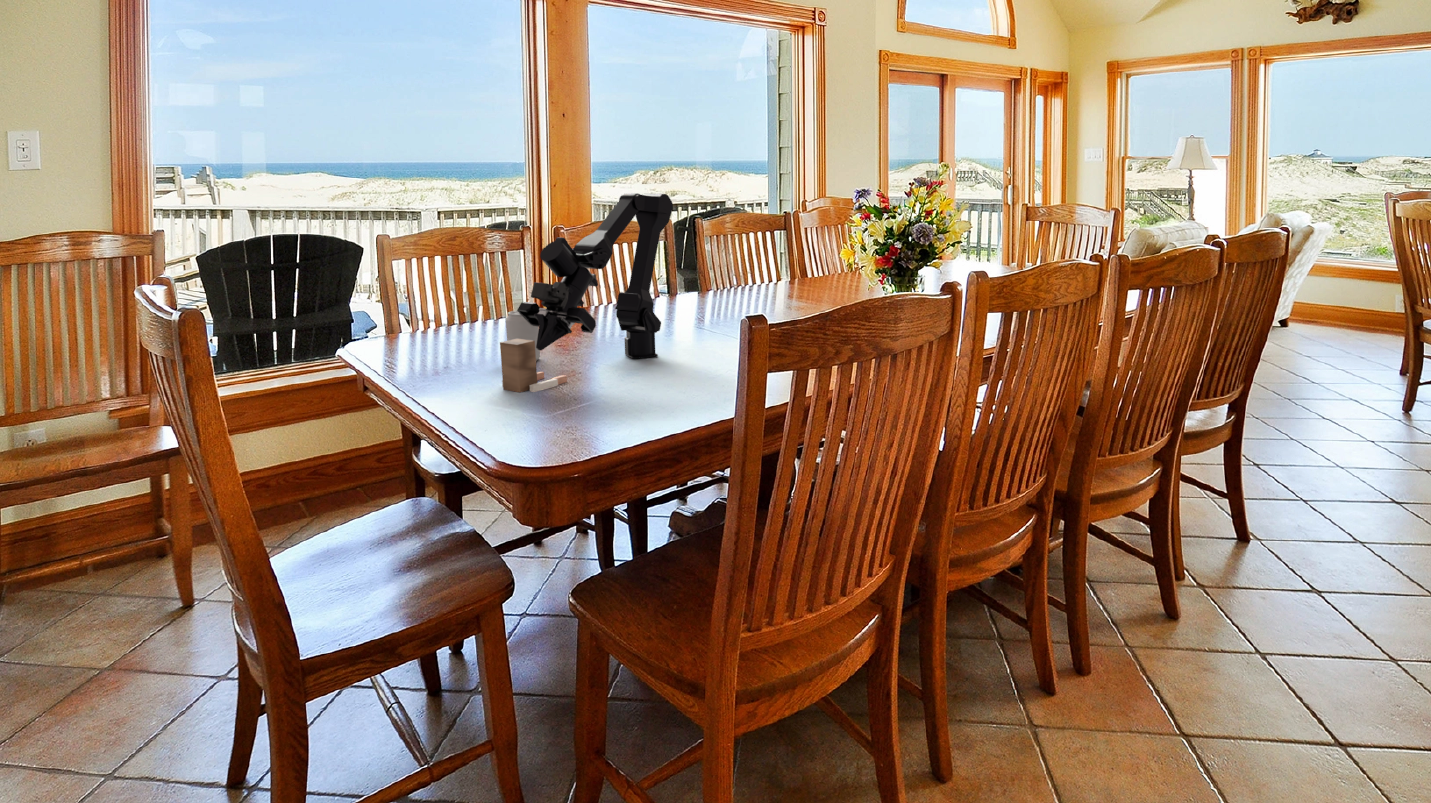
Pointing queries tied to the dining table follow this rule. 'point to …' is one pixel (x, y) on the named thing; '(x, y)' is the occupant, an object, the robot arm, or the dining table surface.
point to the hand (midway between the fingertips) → (538, 349)
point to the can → (521, 329)
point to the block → (518, 364)
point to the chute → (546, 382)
